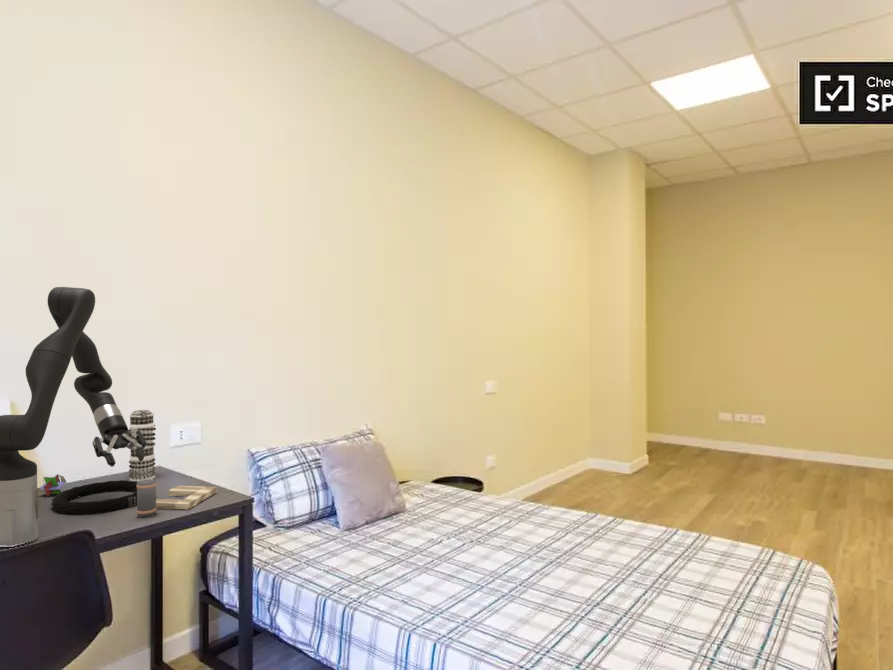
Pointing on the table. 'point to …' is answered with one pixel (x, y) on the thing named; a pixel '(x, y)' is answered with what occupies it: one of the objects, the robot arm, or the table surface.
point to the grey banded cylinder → (146, 498)
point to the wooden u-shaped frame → (194, 497)
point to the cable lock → (67, 507)
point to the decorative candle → (145, 468)
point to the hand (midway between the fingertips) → (128, 462)
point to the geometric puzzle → (53, 485)
